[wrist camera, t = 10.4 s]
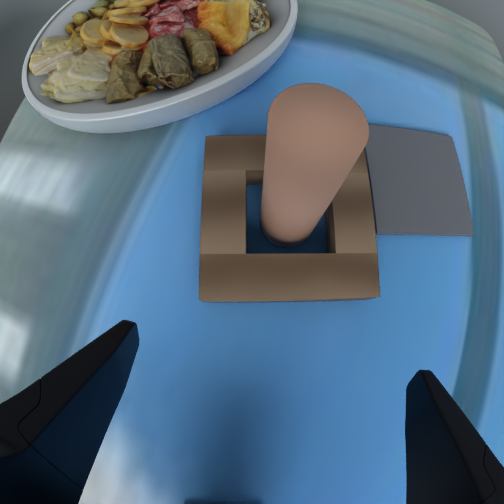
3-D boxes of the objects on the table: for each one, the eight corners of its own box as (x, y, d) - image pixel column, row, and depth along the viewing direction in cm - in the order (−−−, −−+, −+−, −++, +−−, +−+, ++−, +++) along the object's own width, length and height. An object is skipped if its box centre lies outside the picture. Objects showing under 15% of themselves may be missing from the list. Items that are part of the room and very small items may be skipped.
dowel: (320, 237, 24) (386, 151, 11) (270, 254, 24) (291, 177, 11) (301, 190, 25) (341, 76, 12) (252, 205, 24) (253, 94, 12)
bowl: (253, 179, 25) (253, 122, 18) (2, 137, 27) (-36, 103, 19) (311, -8, 31) (318, -53, 24) (116, -16, 33) (103, -52, 25)
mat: (471, 236, 24) (474, 234, 24) (375, 234, 24) (377, 232, 24) (449, 138, 26) (451, 136, 26) (359, 126, 26) (361, 123, 26)
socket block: (367, 299, 23) (379, 296, 21) (204, 302, 23) (199, 299, 21) (353, 154, 26) (362, 139, 23) (209, 152, 26) (205, 135, 23)
